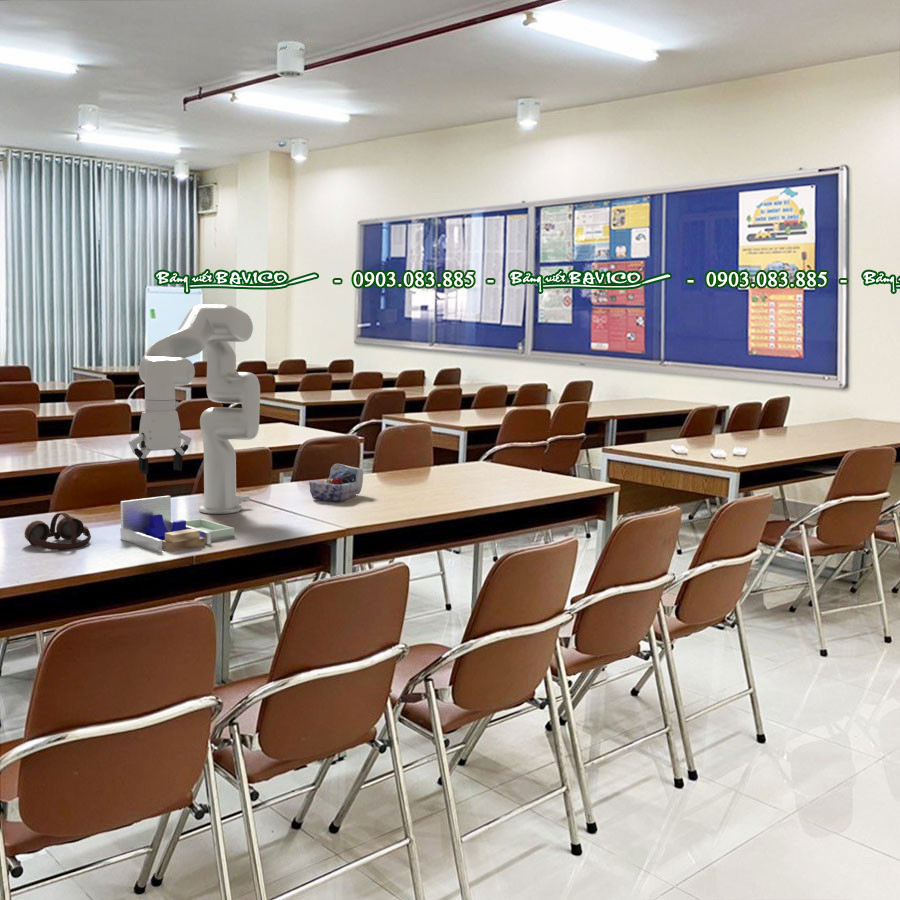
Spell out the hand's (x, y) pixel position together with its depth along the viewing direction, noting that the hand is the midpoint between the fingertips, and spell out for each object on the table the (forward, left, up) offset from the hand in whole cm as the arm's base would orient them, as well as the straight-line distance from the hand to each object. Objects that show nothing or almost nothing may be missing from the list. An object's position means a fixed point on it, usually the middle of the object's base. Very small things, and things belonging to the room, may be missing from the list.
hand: (161, 471), depth 267 cm
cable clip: (-1, 0, -19) cm, 19 cm away
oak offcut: (0, +10, -16) cm, 19 cm away
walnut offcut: (0, +10, -19) cm, 21 cm away
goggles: (+22, -12, -19) cm, 31 cm away
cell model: (-75, -21, -19) cm, 80 cm away
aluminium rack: (0, +1, -18) cm, 18 cm away
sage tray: (-13, 0, -18) cm, 22 cm away
